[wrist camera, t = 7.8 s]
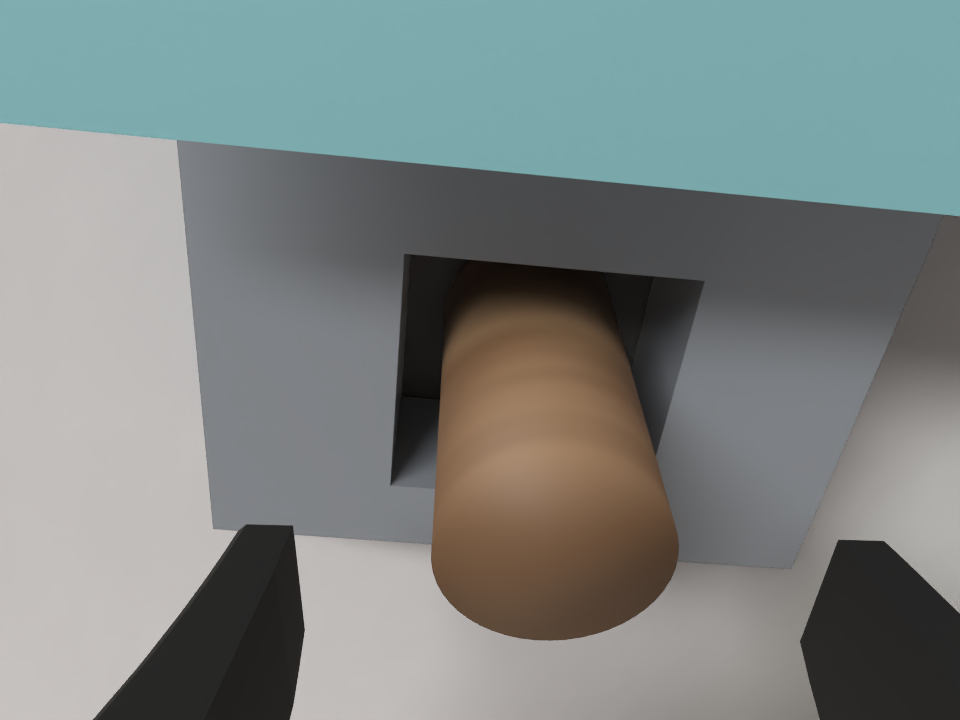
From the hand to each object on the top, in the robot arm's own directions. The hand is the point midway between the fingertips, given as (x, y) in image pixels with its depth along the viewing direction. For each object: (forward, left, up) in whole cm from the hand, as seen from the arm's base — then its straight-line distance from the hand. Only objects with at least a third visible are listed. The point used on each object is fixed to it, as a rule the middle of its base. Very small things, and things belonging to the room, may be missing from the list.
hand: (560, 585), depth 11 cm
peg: (0, 0, -8) cm, 8 cm away
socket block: (0, -2, -8) cm, 8 cm away
